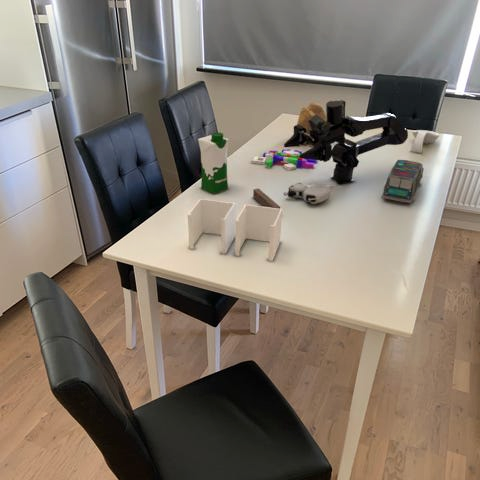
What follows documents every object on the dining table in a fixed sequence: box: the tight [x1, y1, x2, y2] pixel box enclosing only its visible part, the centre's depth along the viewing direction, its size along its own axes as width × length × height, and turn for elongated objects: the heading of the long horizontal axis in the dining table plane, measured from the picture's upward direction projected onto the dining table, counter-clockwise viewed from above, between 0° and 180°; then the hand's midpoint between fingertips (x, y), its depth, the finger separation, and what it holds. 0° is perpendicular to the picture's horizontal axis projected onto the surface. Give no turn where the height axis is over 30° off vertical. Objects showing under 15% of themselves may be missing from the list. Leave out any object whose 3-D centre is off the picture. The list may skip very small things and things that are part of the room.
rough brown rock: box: [296, 102, 327, 145], centre depth 213 cm, size 23×17×15 cm
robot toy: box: [282, 182, 334, 205], centre depth 168 cm, size 12×4×15 cm
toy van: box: [381, 159, 425, 204], centre depth 172 cm, size 11×25×10 cm, turn 155°
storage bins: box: [187, 198, 283, 262], centre depth 140 cm, size 25×11×11 cm, turn 75°
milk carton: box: [197, 131, 230, 195], centre depth 169 cm, size 9×9×20 cm
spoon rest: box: [410, 129, 440, 154], centre depth 213 cm, size 24×12×7 cm, turn 153°
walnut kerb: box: [252, 188, 281, 209], centre depth 163 cm, size 2×16×3 cm, turn 24°
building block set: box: [251, 148, 318, 171], centre depth 197 cm, size 25×20×4 cm
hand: (291, 151), depth 163 cm, fingers open, 9 cm apart
